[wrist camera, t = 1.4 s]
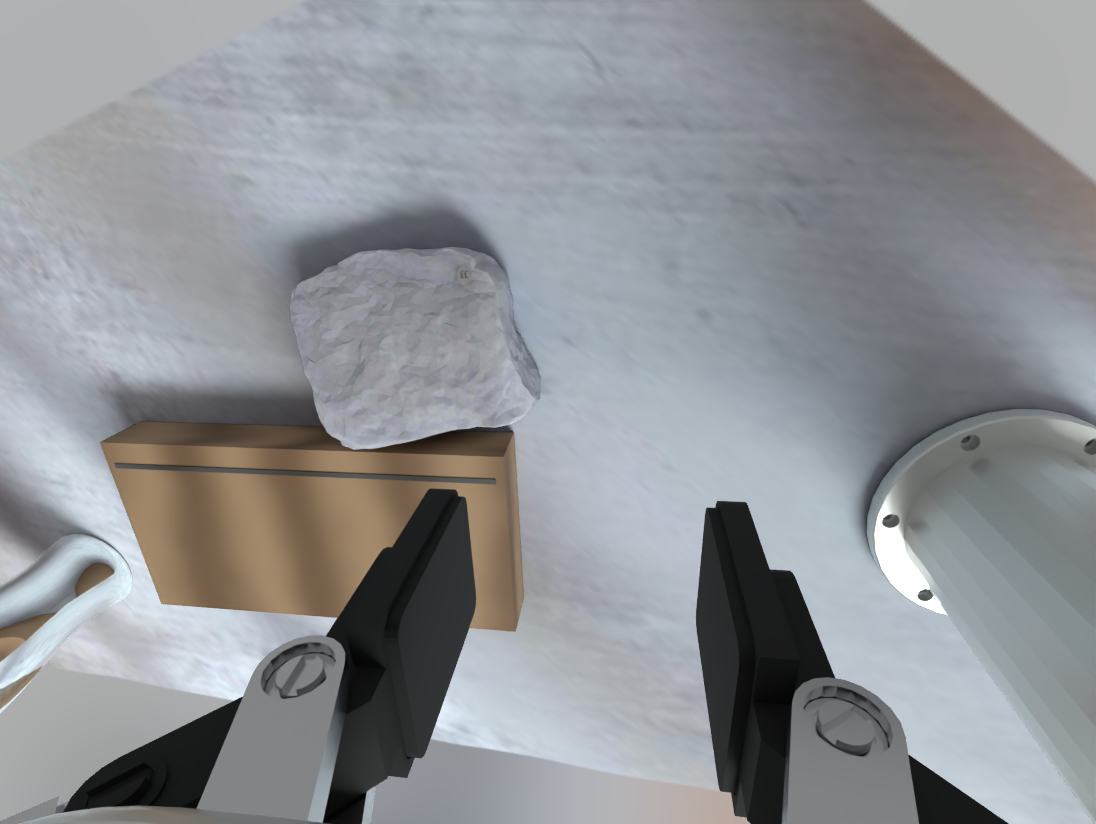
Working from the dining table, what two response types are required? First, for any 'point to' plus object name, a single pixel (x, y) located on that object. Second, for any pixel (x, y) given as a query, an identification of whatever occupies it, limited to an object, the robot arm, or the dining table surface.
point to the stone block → (412, 346)
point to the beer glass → (54, 605)
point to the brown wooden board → (306, 512)
